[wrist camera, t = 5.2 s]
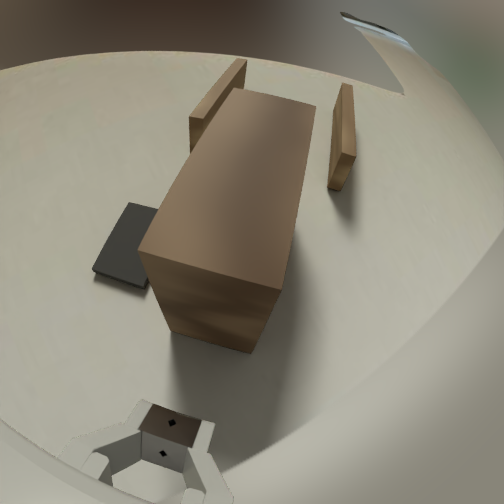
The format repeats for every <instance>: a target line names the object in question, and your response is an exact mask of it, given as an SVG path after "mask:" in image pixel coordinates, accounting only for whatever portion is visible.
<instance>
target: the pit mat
mask: <svg viewBox="0 0 504 504" xmlns="http://www.w3.org/2000/svg"><path fill="white" fill-rule="evenodd" d="M157 211H158V209H155V208H151V207H147V206H143V205H139V204H135V203H130V202H129V203H128V205H127V206H126V208H125V210H124V211H123V213H122V215H121V216H120V218H119V220H118V222H117V223H116V225H115V227H114V229H113V230H112V232H111V234H110V236H109V237H108V239H107V241H106V243H105V245H104V247H103V248H102V250H101V252H100V254H99V256H98V258H97V260H96V262H95V263H94V265H93V267H92V270H93V272H96V273H99V274H101V275H104V276H107V277H110V278H113V279H116V280H118V281H121V282H124V283H127V284H130V285H133V286H136V287H139V288H142V289H145V287H146V284H147V282H148V280H149V279H148V277H147V274H146V271H145V269H144V266H143V264H142V261H141V258H140V256H139V253H138V248H139V246H140V244H141V242H142V240H143V238H144V236H145V234H146V232H147V230H148V228H149V226H150V224H151V222H152V220H153V219H154V217H155V215H156V213H157Z"/></svg>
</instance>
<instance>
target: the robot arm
mask: <svg viewBox="0 0 504 504" xmlns="http://www.w3.org/2000/svg"><path fill="white" fill-rule="evenodd" d="M214 428H215V423H212V422H209V421H205V420H201V419H198V418H195V417H191V416H188V415H185V414H181V413H177V412H175V411H172V410H169V409H166V408H164V407H161V406H158V405H156V404H153V403H150V402H148V401H145V400H143V399H142V400H140V401H139V402H138V404H137V405H136V407H135V408H134V410H133V411H132V413H131V414H130V416H129V417H128V419H127V420H126V422H125V424H123V423H119V424H116V425H113V426H110V427H107V428H104V429H101V430H98V431H95V432H92V433H89V434H85V435H82V436H79V437H75V438H72V440H71V441H70V442H69V443H68V445H67V446H66V447H65V448H64V450H63V451H62V452H61V453H60V455H59V456H58V457H57V458H56V457H55V456H53V455H52V454H50V453H48V452H47V451H45V450H44V449H42V448H40V447H39V446H37V445H36V444H34V443H33V442H31V441H30V440H29V439H27V438H26V437H24V436H23V435H21V434H20V433H19V432H17V431H16V430H15V429H13V428H12V427H11V426H9V425H8V424H7V423H5V422H4V421H3V420H2V419H0V504H154V503H152V502H149V501H146V500H143V499H141V498H138V497H136V496H133V495H131V494H128V493H126V492H123V491H121V490H119V489H116V488H114V487H113V483H112V477H111V476H112V475H114V474H116V473H118V472H119V471H121V470H123V469H125V468H127V467H129V466H131V465H133V464H134V463H136V462H138V461H140V460H141V459H142V460H145V461H148V462H151V463H154V464H157V465H160V466H163V467H165V468H168V469H171V470H174V471H177V472H180V473H183V477H184V480H185V483H186V486H187V489H185V492H184V495H183V498H182V501H181V503H180V504H233V501H234V497H233V496H232V494H231V492H230V490H229V488H228V486H227V485H226V483H225V481H224V479H223V477H222V475H221V473H220V471H219V469H218V467H217V465H216V463H215V461H214V459H213V457H212V455H211V454H209V453H208V450H209V446H210V442H211V439H212V435H213V432H214Z"/></svg>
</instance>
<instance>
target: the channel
mask: <svg viewBox="0 0 504 504" xmlns="http://www.w3.org/2000/svg"><path fill="white" fill-rule="evenodd" d="M246 66H247V60H246V59H239V58H237V59H236V60H235V61H234V62H233V63H232V64H231V66H230V67H229V68H228V69H227V70H226V71H225V73H224V74H223V75H222V76H221V77H220V78H219V80H218V81H217V82H216V83H215V84H214V86H213V87H212V88H211V89H210V90H209V92H208V93H207V94H206V95H205V97H204V98H203V99H202V100H201V102H200V103H199V104H198V105H197V107H196V108H195V109H194V111H193V112H192V113H191V114H190V116H189V133H190V154H191V152H192V150H193V149H194V147H195V146H196V144H197V142H198V141H199V139H200V138H201V136H202V134H203V133H204V131H205V130H206V128H207V127H208V125H209V124H210V122H211V121H212V119H213V117H214V116H215V114H216V113H217V111H218V110H219V108H220V107H221V106H222V104H223V103H224V101H225V100H226V98H227V97H228V95H229V94H230V92H231V91H232V90H233V88H238V89H244V83H245V74H246ZM355 158H356V135H355V115H354V99H353V86H352V85H349V84H346V83H342V85H341V88H340V91H339V94H338V98H337V101H336V104H335V107H334V110H333V125H332V139H331V152H330V163H329V174H328V184H327V187H328V188H331V189H335V190H338V191H341V189H342V187H343V185H344V182H345V180H346V178H347V176H348V174H349V172H350V169H351V167H352V165H353V163H354V161H355Z"/></svg>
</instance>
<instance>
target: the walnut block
mask: <svg viewBox="0 0 504 504" xmlns="http://www.w3.org/2000/svg"><path fill="white" fill-rule="evenodd" d="M315 111H316V106H313V105H310V104H306V103H302V102H298V101H294V100H290V99H286V98H282V97H278V96H273V95H269V94H264V93H259V92H254V91H249V90H244V89H238V88H233V90H232V91H231V92H230V94H229V95H228V97H227V98H226V100H225V101H224V103H223V104H222V106H221V107H220V108H219V110H218V111H217V113H216V114H215V116H214V117H213V119H212V121H211V122H210V124H209V125H208V127H207V128H206V130H205V131H204V133H203V134H202V136H201V138H200V139H199V141H198V142H197V144H196V146H195V147H194V149H193V150H192V152H191V154H190V155H189V157H188V159H187V160H186V162H185V164H184V165H183V167H182V169H181V170H180V172H179V174H178V176H177V177H176V179H175V181H174V182H173V184H172V186H171V188H170V189H169V191H168V193H167V195H166V197H165V198H164V200H163V202H162V204H161V206H160V207H159V209H158V211H157V213H156V215H155V217H154V219H153V220H152V222H151V224H150V226H149V228H148V230H147V232H146V234H145V236H144V238H143V240H142V242H141V244H140V246H139V248H138V253H139V256H140V258H141V261H142V264H143V266H144V269H145V271H146V274H147V277H148V279H149V282H150V284H151V287H152V289H153V291H154V294H155V296H156V299H157V301H158V303H159V306H160V308H161V311H162V313H163V315H164V317H165V320H166V322H167V324H168V327H169V329H170V331H173V332H177V333H180V334H183V335H186V336H189V337H193V338H196V339H199V340H202V341H206V342H209V343H213V344H216V345H220V346H223V347H227V348H231V349H234V350H238V351H242V352H246V353H249V354H251V353H252V351H253V349H254V347H255V345H256V343H257V341H258V339H259V337H260V335H261V333H262V331H263V329H264V326H265V324H266V322H267V320H268V318H269V316H270V314H271V312H272V310H273V307H274V305H275V303H276V301H277V299H278V297H279V294H280V292H281V290H282V286H283V281H284V276H285V272H286V267H287V262H288V257H289V253H290V248H291V243H292V238H293V233H294V228H295V223H296V217H297V212H298V207H299V202H300V197H301V191H302V186H303V180H304V175H305V169H306V164H307V158H308V152H309V147H310V141H311V135H312V129H313V123H314V117H315Z"/></svg>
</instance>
